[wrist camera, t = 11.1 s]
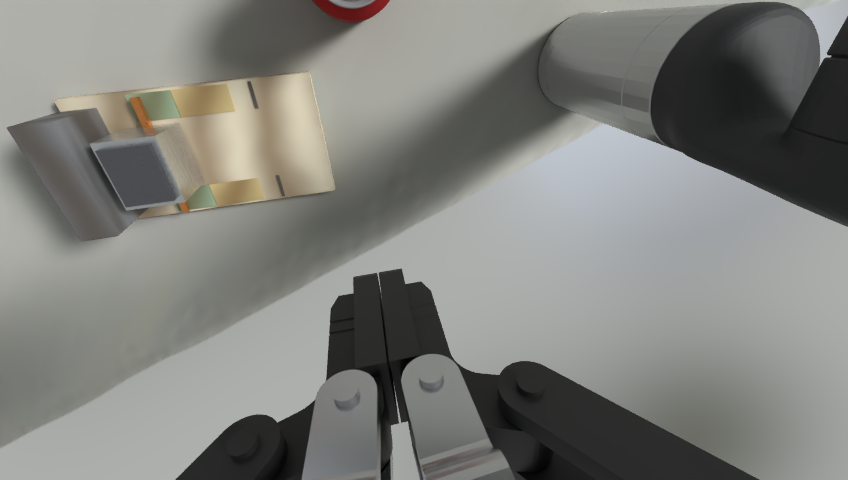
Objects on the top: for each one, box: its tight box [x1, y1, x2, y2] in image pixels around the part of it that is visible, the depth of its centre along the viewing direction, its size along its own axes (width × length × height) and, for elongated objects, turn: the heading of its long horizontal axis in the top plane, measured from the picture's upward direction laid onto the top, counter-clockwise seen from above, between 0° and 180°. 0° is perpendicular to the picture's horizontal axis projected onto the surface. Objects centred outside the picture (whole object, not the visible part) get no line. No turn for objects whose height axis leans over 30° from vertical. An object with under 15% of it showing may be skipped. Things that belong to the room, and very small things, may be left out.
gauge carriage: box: [89, 96, 204, 213], centre depth 33 cm, size 5×11×6 cm, turn 5°
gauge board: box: [7, 71, 335, 241], centre depth 34 cm, size 22×12×7 cm, turn 95°
